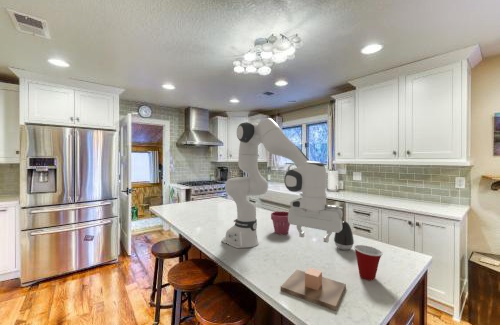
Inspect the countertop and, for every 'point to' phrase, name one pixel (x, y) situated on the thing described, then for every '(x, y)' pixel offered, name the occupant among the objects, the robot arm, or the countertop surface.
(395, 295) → the countertop surface
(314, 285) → the cube
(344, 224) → the black glossy tall piece
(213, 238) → the countertop surface
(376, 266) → the plastic cup
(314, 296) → the walnut board
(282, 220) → the plant pot
